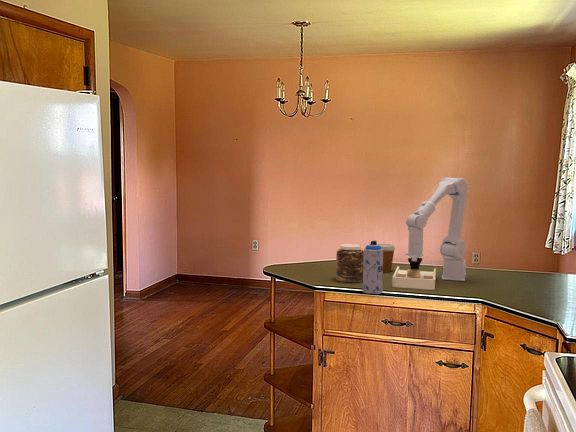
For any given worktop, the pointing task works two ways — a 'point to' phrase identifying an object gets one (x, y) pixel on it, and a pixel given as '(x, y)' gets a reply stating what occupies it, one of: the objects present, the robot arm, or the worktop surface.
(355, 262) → the jar
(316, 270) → the worktop surface
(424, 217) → the robot arm
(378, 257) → the aerosol can
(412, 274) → the maple block
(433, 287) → the trap box
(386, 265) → the disposable coffee cup
